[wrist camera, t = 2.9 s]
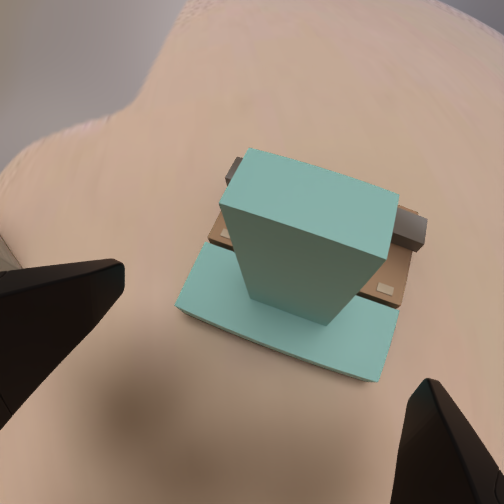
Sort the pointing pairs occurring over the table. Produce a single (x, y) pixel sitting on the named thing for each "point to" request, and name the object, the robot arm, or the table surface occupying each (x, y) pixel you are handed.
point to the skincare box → (7, 258)
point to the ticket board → (392, 270)
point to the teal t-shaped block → (299, 265)
